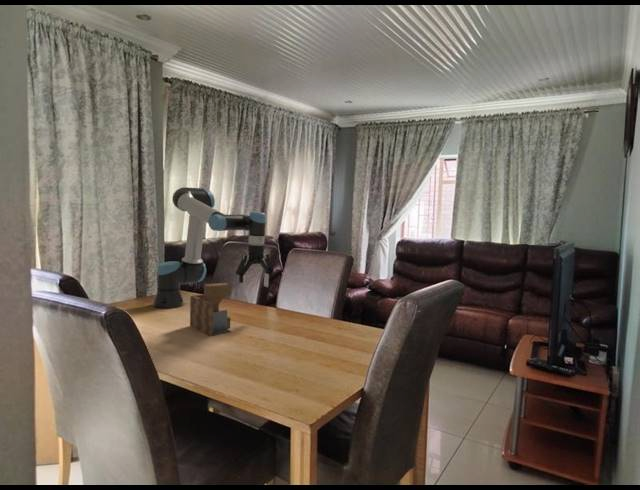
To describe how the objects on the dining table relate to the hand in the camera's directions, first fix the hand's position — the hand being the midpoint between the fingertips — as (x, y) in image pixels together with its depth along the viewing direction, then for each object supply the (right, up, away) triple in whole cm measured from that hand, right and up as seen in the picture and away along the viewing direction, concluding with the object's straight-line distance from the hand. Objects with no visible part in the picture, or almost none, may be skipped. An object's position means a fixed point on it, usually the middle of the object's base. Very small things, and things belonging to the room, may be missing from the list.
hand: (254, 287), depth 200 cm
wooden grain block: (-17, -17, -14) cm, 28 cm away
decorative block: (-15, -17, -12) cm, 26 cm away
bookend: (-12, -18, -19) cm, 29 cm away
